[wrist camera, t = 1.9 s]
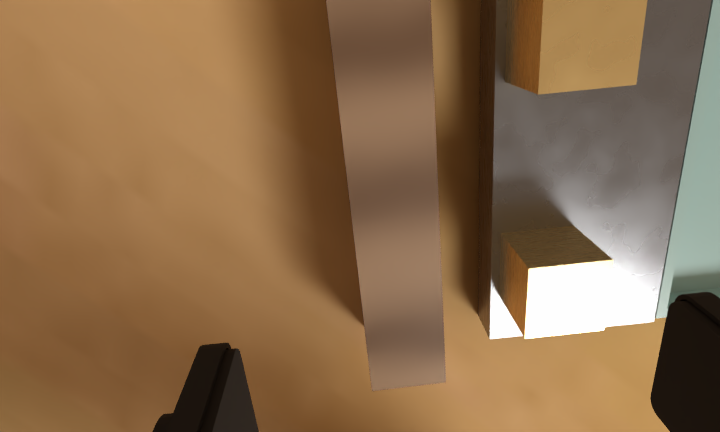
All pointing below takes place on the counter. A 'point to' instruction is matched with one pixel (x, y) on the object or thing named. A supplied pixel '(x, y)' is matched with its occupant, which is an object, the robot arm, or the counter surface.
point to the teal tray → (698, 187)
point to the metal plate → (589, 159)
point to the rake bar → (392, 182)
